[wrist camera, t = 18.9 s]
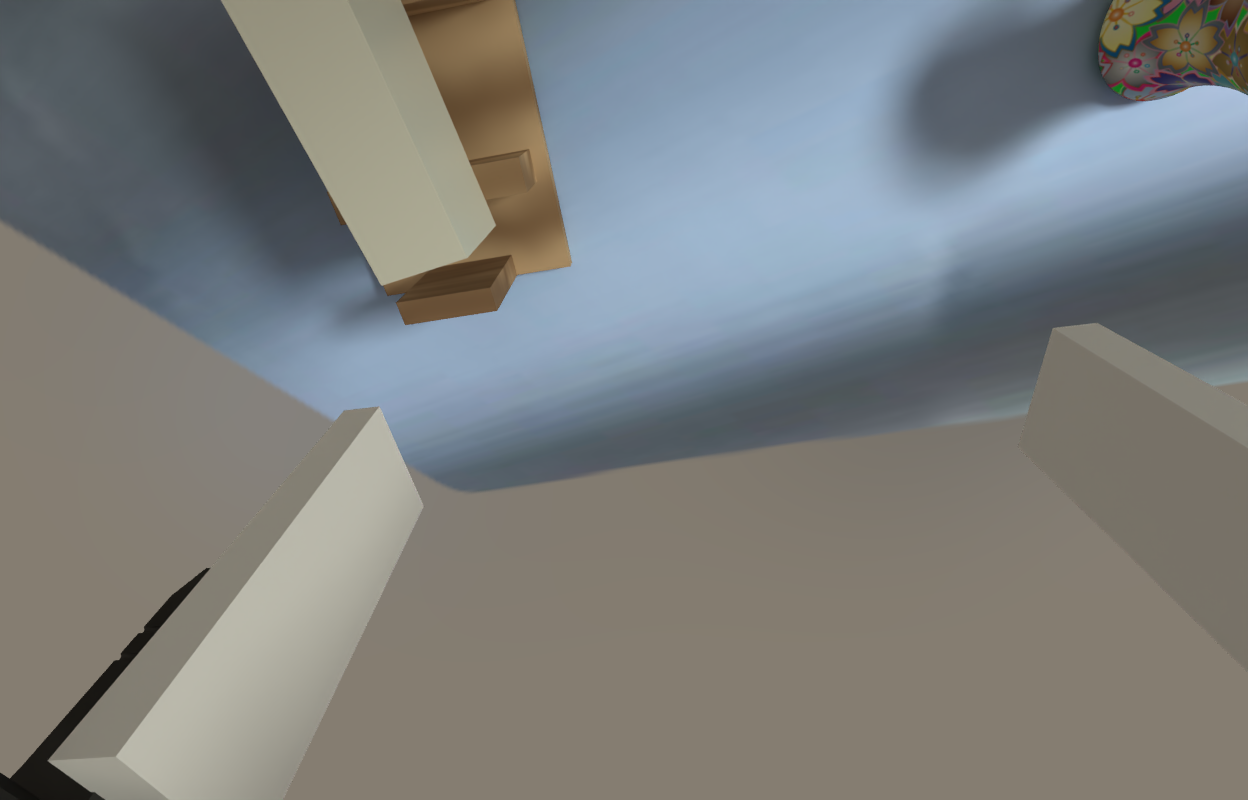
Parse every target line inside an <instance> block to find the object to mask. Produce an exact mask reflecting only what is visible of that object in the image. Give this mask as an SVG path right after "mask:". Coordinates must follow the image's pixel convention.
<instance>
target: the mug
mask: <svg viewBox="0 0 1248 800" xmlns="http://www.w3.org/2000/svg"><path fill="white" fill-rule="evenodd" d="M1098 60H1099V66H1100V71H1101V73H1102V76H1103V78H1104V80H1105V82H1106V83H1107V85H1108V86H1109V87H1110V88H1111V89H1112V90H1113V91H1114V92H1116V93H1117V94H1119V95H1121V96H1123V97H1125V98H1128V99H1131V100H1136V101H1152V100H1158V99H1162V98H1166V97H1169V96H1172V95H1175V94H1177V93H1180V92H1182V91H1184V90H1186V89H1188V88H1190V87H1194V86H1202V85H1215V86H1222V87H1227V88H1231V89H1235V90H1237V91H1240V92H1242V93H1244V94H1246V95H1248V0H1113V2H1112V4H1111V6H1110V8H1109V10H1108V12H1107V14H1106V17H1105V19H1104V22H1103V25H1102V29H1101V33H1100V38H1099V46H1098Z"/></svg>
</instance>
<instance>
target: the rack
mask: <svg viewBox="0 0 1248 800" xmlns="http://www.w3.org/2000/svg"><path fill="white" fill-rule="evenodd" d="M401 2H402V4H403V7H404V9H405V11H406V14H407V16H408V18H409V21H410V23H411V26H412V28H413V30H414V33H415V35H416V37H417V40H418V42H419V44H420V47H421V49H422V51H423V54H424V56H425V59H426V61H427V63H428V66H429V68H430V70H431V73H432V75H433V77H434V80H435V82H436V85H437V87H438V89H439V92H440V94H441V96H442V99H443V101H444V103H445V106H446V108H447V111H448V113H449V115H450V118H451V120H452V122H453V125H454V127H455V129H456V132H457V134H458V137H459V139H460V141H461V144H462V146H463V148H464V151H465V153H466V155H467V158H468V160H469V163H470V165H471V167H472V170H473V172H474V174H475V177H476V179H477V181H478V184H479V186H480V188H481V191H482V193H483V196H484V198H485V200H486V203H487V205H488V207H489V210H490V212H491V214H492V217H493V219H494V222H495V224H496V226H495V227H494V228H493V230H492V231H491V232H490V233H489V234H488V235H487V236H486V238H485V239H484V240H483V241H482V242H481V243H480V244H479V246H478V247H477V248H476V249H475V250H474V251H473V252H472V253H471V255H470V256H469V257H468V258H466V259H463V260H460V261H457V262H454V263H451V264H447V265H444V266H441V267H438V268H435V269H432V270H429V271H426V272H423V273H420V274H417V275H413V276H410V277H407V278H404V279H401V280H398V281H395V282H392V283H389V284H386V285H383V286H384V289H385V291H386V294H387V296H389V295H396V294H402V293H406V294H405V295H404V296H403V297H401V298H400V299H399V300H398V301H397V302H396V304H397V306H398V309H399V311H400V314H401V316H402V319H403V321H404V324H405V325H409V324H416V323H422V322H428V321H435V320H441V319H448V318H454V317H460V316H467V315H473V314H480V313H486V312H492V311H497V310H498V308H499V307H500V305H501V303H502V301H503V299H504V298H505V296H506V294H507V292H508V290H509V289H510V287H511V285H512V283H513V281H514V280H515V278H516V276H517V275H519V274H525V273H532V272H538V271H544V270H550V269H556V268H563V267H569V266H571V263H572V261H571V256H570V251H569V247H568V242H567V237H566V233H565V228H564V224H563V219H562V214H561V210H560V205H559V201H558V196H557V191H556V187H555V182H554V178H553V173H552V168H551V164H550V159H549V155H548V150H547V145H546V141H545V136H544V132H543V127H542V122H541V118H540V113H539V108H538V104H537V99H536V95H535V90H534V85H533V81H532V76H531V72H530V67H529V62H528V58H527V53H526V49H525V44H524V39H523V35H522V30H521V26H520V21H519V16H518V12H517V7H516V3H515V0H401ZM327 193H328V196H329V198H330V200H331V203H332V205H333V207H334V210H335V212H336V214H337V217H338V219H339V222H340V224H341V225H346V222H345V220H344V218H343V217H342V215H341V213H340V211H339V209H338V208H337V206H336V204H335V202H334V201H333V199H332V197H331V195H330V193H329V192H327Z"/></svg>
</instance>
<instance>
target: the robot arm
mask: <svg viewBox="0 0 1248 800" xmlns="http://www.w3.org/2000/svg"><path fill="white" fill-rule="evenodd" d="M1018 448H1019V449H1020V450H1021V451H1022V452H1023V453H1024V454H1025V455H1026V456H1027V457H1028V458H1029V459H1030V460H1031V461H1032V462H1033V463H1034V464H1035V465H1036V466H1037V467H1039V469H1040V470H1041V471H1042V472H1044V473H1045V474H1046V475H1047V476H1048V477H1049V478H1050V479H1051V480H1052V481H1053V482H1054V483H1055V484H1056V485H1057V486H1058V487H1059V488H1060V489H1061V490H1062V491H1063V492H1064V493H1065V494H1066V495H1067V496H1068V497H1069V498H1070V499H1071V500H1072V501H1073V502H1074V503H1075V504H1076V505H1077V506H1078V507H1079V508H1080V509H1081V510H1082V511H1083V512H1084V513H1085V514H1086V515H1087V516H1088V517H1089V518H1090V519H1092V521H1094V522H1095V524H1097V525H1098V526H1099V527H1100V528H1101V529H1102V530H1103V531H1104V532H1105V533H1106V534H1107V535H1108V536H1109V537H1110V538H1111V539H1112V540H1113V541H1114V542H1115V543H1116V544H1117V545H1118V546H1119V547H1120V548H1121V549H1122V550H1123V551H1124V552H1125V553H1126V554H1127V555H1128V556H1129V557H1130V558H1131V559H1132V560H1133V561H1134V562H1135V563H1136V564H1137V565H1138V566H1139V567H1140V568H1141V569H1142V570H1144V572H1145V573H1147V574H1148V575H1149V576H1150V577H1151V578H1152V579H1153V580H1154V581H1155V582H1156V583H1157V584H1158V585H1159V586H1160V587H1161V588H1162V589H1163V590H1164V591H1165V592H1166V593H1167V594H1168V595H1169V596H1170V597H1171V598H1172V599H1173V600H1174V601H1175V602H1176V603H1177V604H1178V605H1179V606H1180V607H1181V608H1182V609H1183V610H1184V611H1185V612H1186V613H1187V614H1188V615H1189V616H1190V617H1191V618H1192V619H1193V620H1194V621H1195V622H1197V624H1199V626H1201V627H1202V628H1203V629H1204V630H1205V631H1206V632H1207V633H1208V634H1209V635H1210V636H1211V637H1212V638H1213V639H1214V640H1215V641H1216V642H1217V643H1218V644H1219V645H1220V646H1221V647H1222V648H1223V649H1224V650H1225V651H1226V652H1227V653H1228V654H1229V655H1230V656H1231V657H1232V658H1233V659H1234V660H1235V661H1236V662H1237V663H1238V664H1239V665H1240V666H1241V667H1242V668H1243V669H1244V670H1245V671H1246V672H1247V673H1248V405H1246V404H1244V403H1242V402H1241V401H1239V400H1237V399H1235V398H1233V397H1231V396H1230V395H1228V394H1226V393H1224V392H1222V391H1221V390H1219V389H1217V388H1215V387H1213V386H1211V385H1210V384H1208V383H1206V382H1204V381H1202V380H1200V379H1199V378H1197V377H1195V376H1193V375H1191V374H1189V373H1188V372H1186V371H1184V370H1182V369H1180V368H1178V367H1177V366H1175V365H1173V364H1171V363H1169V362H1167V361H1166V360H1164V359H1162V358H1160V357H1158V356H1156V355H1155V354H1153V353H1151V352H1149V351H1147V350H1145V349H1144V348H1142V347H1140V346H1138V345H1136V344H1134V343H1133V342H1131V341H1129V340H1127V339H1125V338H1123V337H1122V336H1120V335H1118V334H1116V333H1114V332H1112V331H1111V330H1109V329H1107V328H1105V327H1103V326H1101V325H1100V324H1098V323H1093V324H1084V325H1076V326H1067V327H1059V328H1053V330H1052V333H1051V336H1050V340H1049V343H1048V347H1047V350H1046V353H1045V357H1044V360H1043V363H1042V367H1041V370H1040V374H1039V377H1038V380H1037V384H1036V387H1035V390H1034V394H1033V397H1032V400H1031V404H1030V407H1029V411H1028V414H1027V417H1026V421H1025V424H1024V428H1023V431H1022V434H1021V438H1020V441H1019V444H1018ZM422 508H423V504H422V501H421V499H420V497H419V494H418V492H417V490H416V488H415V485H414V484H413V481H412V479H411V476H410V474H409V472H408V470H407V467H406V465H405V463H404V461H403V458H402V456H401V454H400V452H399V449H398V447H397V445H396V443H395V441H394V438H393V436H392V434H391V432H390V429H389V427H388V425H387V423H386V420H385V418H384V416H383V414H382V411H381V409H380V407H371V408H362V409H354V410H345V411H343V413H342V414H341V415H340V416H339V417H338V419H337V420H336V421H335V422H334V423H333V424H332V426H331V427H330V428H329V429H328V430H327V431H326V433H325V434H324V435H323V436H322V437H321V439H320V440H319V441H318V442H317V443H316V444H315V446H314V447H313V448H312V449H311V450H310V452H309V453H308V454H307V455H306V456H305V458H304V459H303V460H302V461H301V462H300V463H299V465H298V466H297V467H296V468H295V469H294V470H293V472H292V473H291V474H290V475H289V476H288V478H287V479H286V480H285V481H284V482H283V483H282V485H281V486H280V487H279V488H278V489H277V491H276V492H275V493H274V494H273V495H272V497H271V498H270V499H269V500H268V501H267V502H266V504H265V505H264V506H263V507H262V508H261V509H260V511H259V512H258V513H257V514H256V515H255V517H254V518H253V519H252V520H251V521H250V522H249V524H248V525H247V526H246V527H245V528H244V529H243V531H242V532H241V533H240V534H239V535H238V537H237V538H236V539H235V540H234V542H232V544H231V545H230V546H229V547H228V548H227V550H226V551H225V552H224V553H223V554H222V555H221V557H220V558H219V559H218V560H217V561H216V563H215V564H214V565H213V566H212V567H211V568H206V569H205V570H203V571H202V572H201V573H200V574H198V575H197V576H196V577H195V578H193V579H192V580H191V581H190V582H188V583H187V584H186V585H184V586H183V587H182V588H181V589H179V590H178V591H177V592H176V593H174V594H173V595H172V596H171V597H170V598H169V599H168V600H167V601H166V602H165V604H164V605H163V606H162V607H161V608H160V609H159V611H158V612H157V613H156V614H155V615H154V616H153V617H152V618H151V620H150V621H149V622H148V623H147V624H146V625H145V626H144V629H145V630H144V632H143V633H139V634H137V636H136V637H135V638H134V639H133V640H132V641H131V642H130V643H129V645H128V646H127V647H126V648H125V649H124V650H123V651H122V653H121V658H120V660H116V661H114V662H113V663H112V664H111V665H110V666H109V668H108V669H107V670H106V671H105V672H104V673H103V674H102V675H101V677H100V678H99V679H98V680H97V681H96V682H95V683H94V685H93V686H92V687H91V688H90V689H89V690H88V691H87V693H86V694H85V695H84V696H83V697H82V698H81V699H80V700H79V702H78V703H77V704H76V705H75V707H73V708H72V710H71V711H70V712H69V713H68V714H67V715H66V716H65V718H64V719H63V720H62V721H61V722H60V723H59V724H58V726H57V727H56V728H55V729H54V730H53V731H52V732H51V734H50V735H49V736H48V737H47V738H46V739H45V740H44V742H43V743H42V744H41V745H40V746H39V747H38V748H37V749H36V751H35V752H34V753H33V754H32V755H31V756H30V757H29V759H28V760H27V761H26V762H25V763H24V764H23V765H22V767H21V768H20V769H19V770H18V771H17V772H16V773H15V774H14V775H13V776H12V777H11V778H10V779H9V778H7V777H6V776H5V775H3V774H1V773H0V800H283V798H284V796H285V794H286V792H287V790H288V788H289V786H290V784H291V781H292V779H293V777H294V775H295V773H296V771H297V769H298V767H299V765H300V763H301V761H302V759H303V757H304V754H305V752H306V750H307V748H308V746H309V744H310V742H311V740H312V738H313V736H314V734H315V731H316V729H317V727H318V725H319V723H320V721H321V719H322V717H323V715H324V713H325V711H326V709H327V706H328V704H329V702H330V700H331V698H332V696H333V694H334V692H335V690H336V688H337V686H338V684H339V682H340V679H341V677H342V675H343V673H344V671H345V669H346V667H347V665H348V663H349V661H350V659H351V656H352V654H353V652H354V650H355V648H356V646H357V644H358V642H359V640H360V638H361V636H362V634H363V631H364V629H365V627H366V625H367V623H368V621H369V619H370V617H371V615H372V613H373V611H374V609H375V606H376V604H377V602H378V600H379V598H380V596H381V594H382V592H383V590H384V588H385V586H386V584H387V581H388V579H389V577H390V575H391V573H392V571H393V569H394V567H395V565H396V563H397V561H398V558H399V556H400V554H401V552H402V550H403V548H404V546H405V544H406V542H407V540H408V538H409V536H410V533H411V531H412V529H413V527H414V525H415V523H416V521H417V519H418V517H419V514H420V513H421V510H422Z"/></svg>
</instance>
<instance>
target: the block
mask: <svg viewBox="0 0 1248 800" xmlns="http://www.w3.org/2000/svg"><path fill="white" fill-rule="evenodd" d="M221 1H222V3H223V5H224V7H225V8H226V10H227V12H228V14H229V16H230V17H231V19H232V21H233V23H234V24H235V26H236V28H237V30H238V32H239V33H240V35H241V37H242V39H243V40H244V42H245V44H246V46H247V48H248V49H249V51H250V53H251V55H252V56H253V58H254V60H255V62H256V64H257V65H258V67H259V69H260V71H261V72H262V74H263V76H264V78H265V80H266V81H267V83H268V85H269V87H270V88H271V90H272V92H273V94H274V96H275V97H276V99H277V101H278V103H279V104H280V106H281V108H282V110H283V112H284V113H285V115H286V117H287V119H288V120H289V122H290V124H291V126H292V128H293V129H294V131H295V133H296V135H297V136H298V138H299V140H300V142H301V144H302V145H303V147H304V149H305V151H306V152H307V154H308V156H309V158H310V160H311V161H312V163H313V165H314V167H315V169H316V170H317V172H318V174H319V176H320V177H321V179H322V181H323V183H324V185H325V186H326V188H327V190H328V192H329V193H330V195H331V197H332V199H333V201H334V202H335V204H336V206H337V208H338V209H339V211H340V213H341V215H342V217H343V218H344V220H345V222H346V224H347V225H348V227H349V229H350V231H351V233H352V234H353V236H354V238H355V240H356V241H357V243H358V245H359V247H360V249H361V250H362V252H363V254H364V256H365V257H366V259H367V261H368V263H369V265H370V266H371V268H372V270H373V272H374V273H375V275H376V277H377V279H378V281H379V282H380V284H381V286H382V285H386V284H389V283H392V282H395V281H398V280H401V279H404V278H407V277H410V276H413V275H417V274H420V273H423V272H426V271H429V270H432V269H435V268H438V267H441V266H444V265H447V264H451V263H454V262H457V261H460V260H463V259H466V258H468V257H469V256H470V255H471V253H472V252H473V251H474V250H475V249H476V248H477V247H478V246H479V244H480V243H481V242H482V241H483V240H484V239H485V238H486V236H487V235H488V234H489V233H490V232H491V231H492V230H493V228H494V227H495V226H496V224H495V222H494V219H493V217H492V214H491V212H490V210H489V207H488V205H487V203H486V200H485V198H484V196H483V193H482V191H481V188H480V186H479V184H478V181H477V179H476V177H475V174H474V172H473V170H472V167H471V165H470V163H469V160H468V158H467V155H466V153H465V151H464V148H463V146H462V144H461V141H460V139H459V137H458V134H457V132H456V129H455V127H454V125H453V122H452V120H451V118H450V115H449V113H448V111H447V108H446V106H445V103H444V101H443V99H442V96H441V94H440V92H439V89H438V87H437V85H436V82H435V80H434V77H433V75H432V73H431V70H430V68H429V66H428V63H427V61H426V59H425V56H424V54H423V51H422V49H421V47H420V44H419V42H418V40H417V37H416V35H415V33H414V30H413V28H412V26H411V23H410V21H409V18H408V16H407V14H406V11H405V9H404V7H403V4H402V2H401V0H221Z"/></svg>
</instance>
